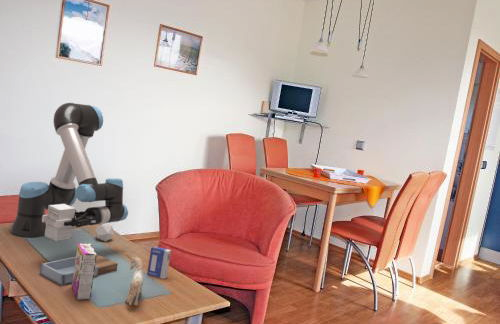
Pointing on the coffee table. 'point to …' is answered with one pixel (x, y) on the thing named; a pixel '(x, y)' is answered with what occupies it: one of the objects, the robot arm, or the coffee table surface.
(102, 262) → the walnut board
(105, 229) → the die
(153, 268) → the walkman
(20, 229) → the robot arm
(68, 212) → the supplement box
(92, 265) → the candy bar box
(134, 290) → the unicorn figurine
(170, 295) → the coffee table surface
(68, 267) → the tray
